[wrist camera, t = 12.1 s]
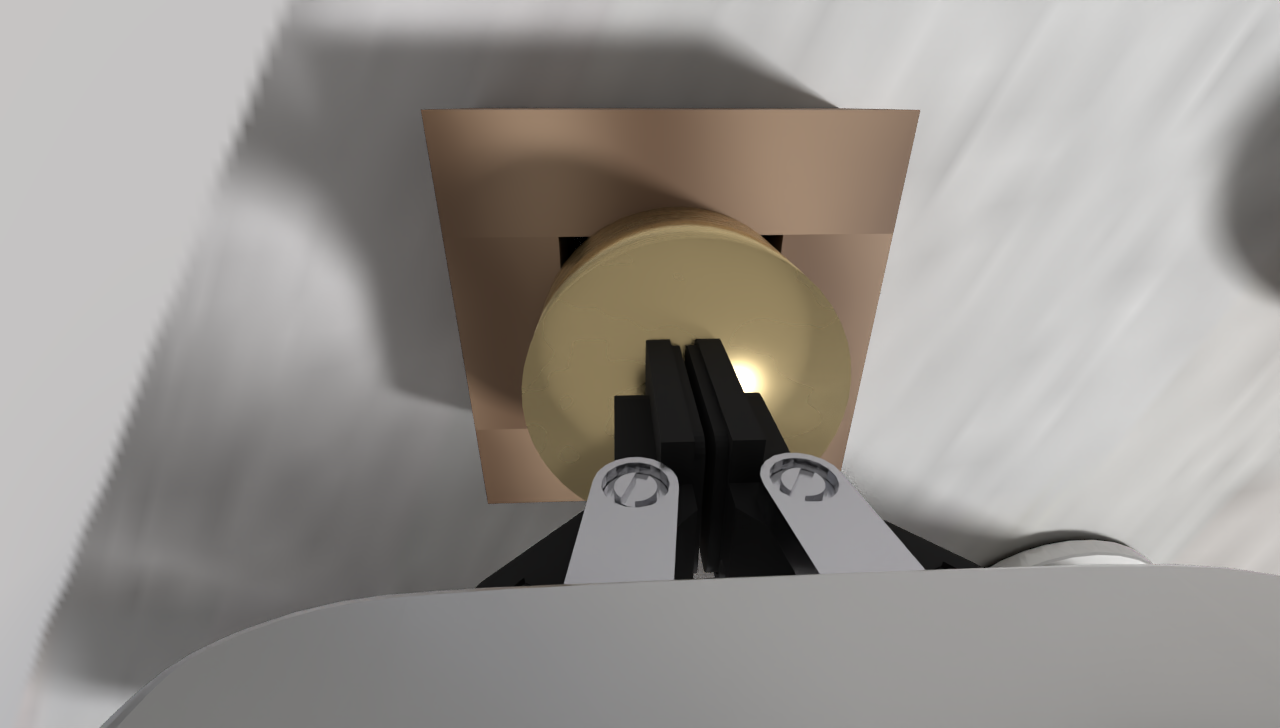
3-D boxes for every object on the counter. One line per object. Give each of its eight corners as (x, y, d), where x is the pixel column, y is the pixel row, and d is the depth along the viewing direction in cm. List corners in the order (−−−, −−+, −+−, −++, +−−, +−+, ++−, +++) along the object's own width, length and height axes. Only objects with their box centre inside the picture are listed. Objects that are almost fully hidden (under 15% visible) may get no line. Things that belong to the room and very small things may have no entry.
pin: (772, 181, 18) (883, 235, 10) (751, 377, 21) (822, 520, 14) (549, 183, 17) (502, 239, 10) (564, 381, 21) (537, 530, 14)
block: (840, 108, 17) (920, 110, 13) (791, 415, 22) (835, 493, 18) (472, 108, 17) (421, 109, 12) (513, 422, 22) (488, 503, 18)
